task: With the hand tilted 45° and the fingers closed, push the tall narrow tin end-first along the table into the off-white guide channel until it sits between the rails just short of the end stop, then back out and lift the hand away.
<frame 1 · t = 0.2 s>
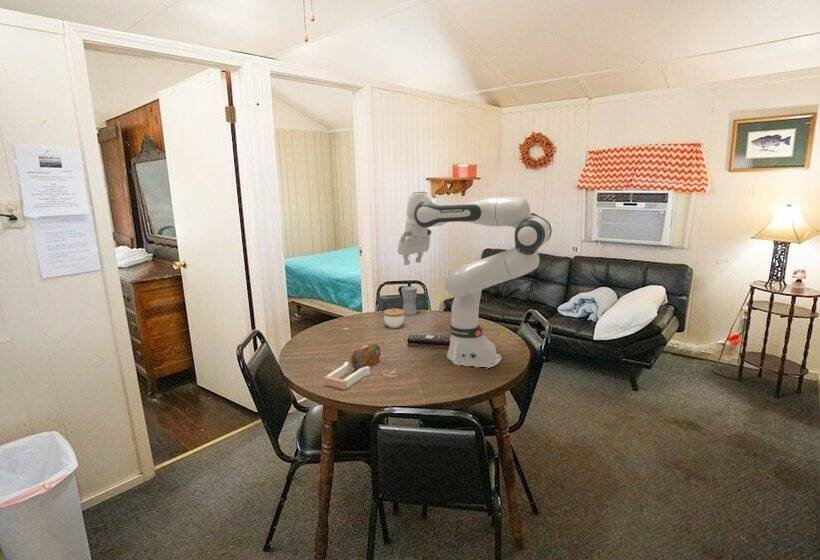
hand: (412, 263, 186), 38 cm above the table, tool pointing down, fingers open, 8 cm apart
lidded jar: (394, 326, 224), on the table
coffee maker: (408, 313, 246), on the table
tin: (366, 366, 176), on the table
guide channel: (345, 379, 164), on the table
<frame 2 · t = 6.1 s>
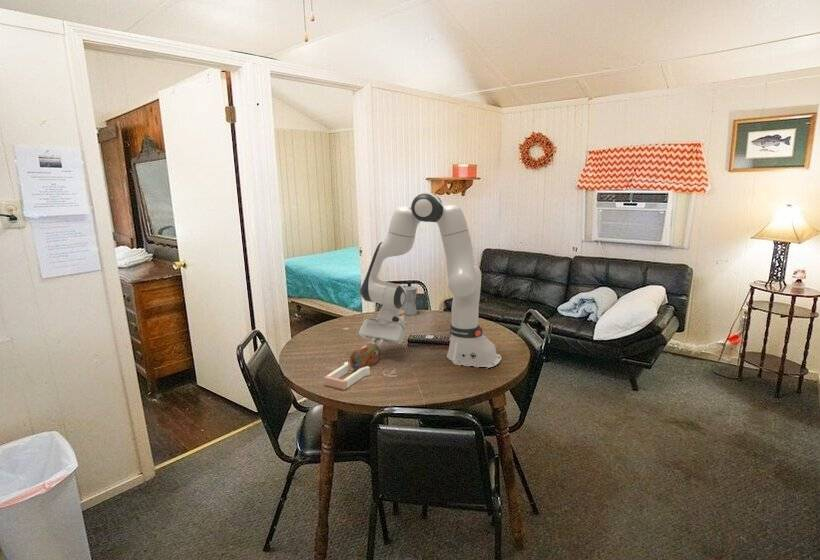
hand: (375, 349, 182), 4 cm above the table, tool tilted 45°, fingers closed
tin: (365, 366, 176), on the table, touching gripper
everything else where it was.
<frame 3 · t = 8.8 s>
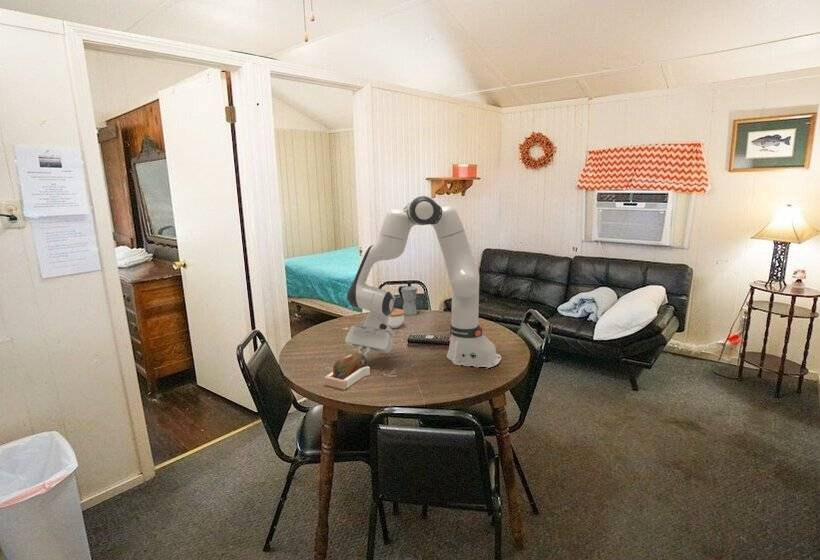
hand: (361, 358, 173), 4 cm above the table, tool tilted 45°, fingers closed
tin: (350, 377, 167), on the table
everything else where it was.
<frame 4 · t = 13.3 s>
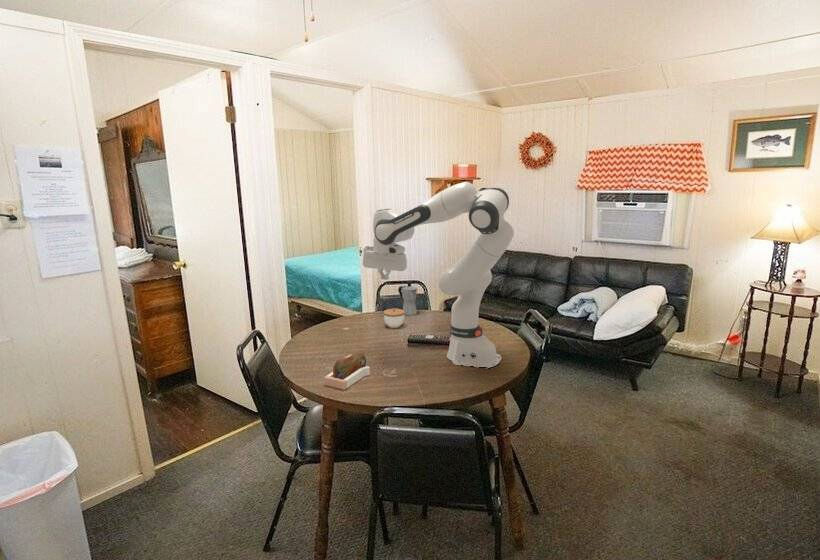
hand: (384, 279, 189), 31 cm above the table, tool pointing down, fingers closed
nothing on the table moved.
at the end: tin 0.2 cm from the target spot, on the table; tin tilted 0°; the gripper is holding nothing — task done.
